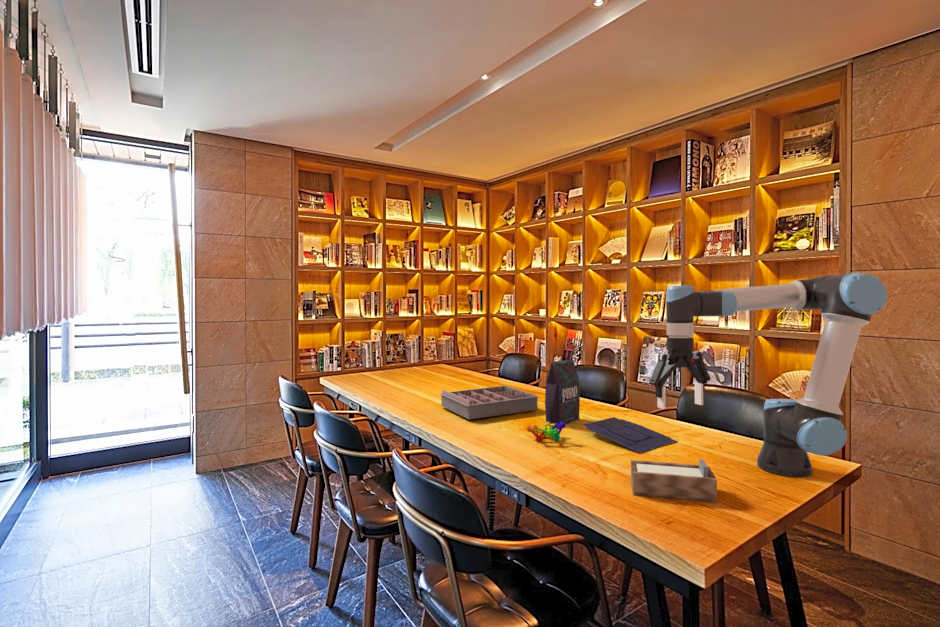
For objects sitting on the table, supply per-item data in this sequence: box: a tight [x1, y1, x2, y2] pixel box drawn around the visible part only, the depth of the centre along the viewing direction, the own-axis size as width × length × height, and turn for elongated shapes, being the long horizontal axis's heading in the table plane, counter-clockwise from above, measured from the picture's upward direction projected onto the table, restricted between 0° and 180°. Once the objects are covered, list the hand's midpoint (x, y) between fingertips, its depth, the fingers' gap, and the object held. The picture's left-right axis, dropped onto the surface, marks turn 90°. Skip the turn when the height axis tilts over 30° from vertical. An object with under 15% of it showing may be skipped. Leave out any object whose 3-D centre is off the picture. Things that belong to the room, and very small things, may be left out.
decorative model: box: [526, 421, 567, 443], centre depth 190 cm, size 13×9×15 cm
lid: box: [636, 459, 709, 478], centre depth 140 cm, size 19×8×4 cm, turn 75°
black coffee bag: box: [544, 358, 581, 425], centre depth 217 cm, size 8×16×28 cm, turn 133°
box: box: [630, 459, 718, 504], centre depth 140 cm, size 22×11×6 cm, turn 75°
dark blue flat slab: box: [581, 416, 679, 454], centre depth 192 cm, size 24×30×4 cm
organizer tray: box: [439, 385, 540, 420], centre depth 241 cm, size 32×40×10 cm
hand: (680, 406), depth 145 cm, fingers open, 13 cm apart
